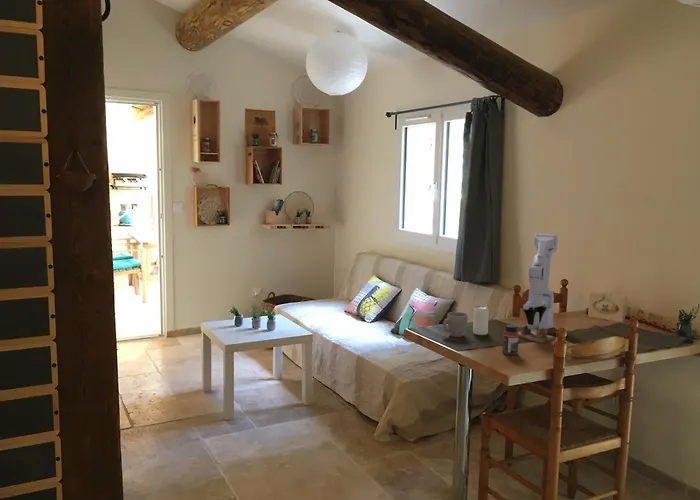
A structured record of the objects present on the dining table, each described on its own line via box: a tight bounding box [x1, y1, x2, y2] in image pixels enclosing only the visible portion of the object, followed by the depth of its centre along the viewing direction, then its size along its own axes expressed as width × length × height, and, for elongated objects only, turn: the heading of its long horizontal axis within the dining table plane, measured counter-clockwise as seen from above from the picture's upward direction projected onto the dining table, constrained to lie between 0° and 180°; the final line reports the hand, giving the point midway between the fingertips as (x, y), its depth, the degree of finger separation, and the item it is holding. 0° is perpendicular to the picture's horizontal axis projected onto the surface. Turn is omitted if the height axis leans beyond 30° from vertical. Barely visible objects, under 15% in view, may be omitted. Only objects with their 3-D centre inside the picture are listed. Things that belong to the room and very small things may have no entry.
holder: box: [518, 324, 555, 344], centre depth 265 cm, size 10×14×5 cm
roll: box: [526, 312, 539, 330], centre depth 264 cm, size 5×5×7 cm
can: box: [472, 305, 490, 336], centre depth 269 cm, size 6×6×12 cm
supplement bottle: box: [502, 324, 520, 356], centre depth 239 cm, size 6×6×11 cm
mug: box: [442, 311, 469, 338], centre depth 264 cm, size 12×9×10 cm
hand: (534, 323), depth 264 cm, fingers closed on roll, 5 cm apart
